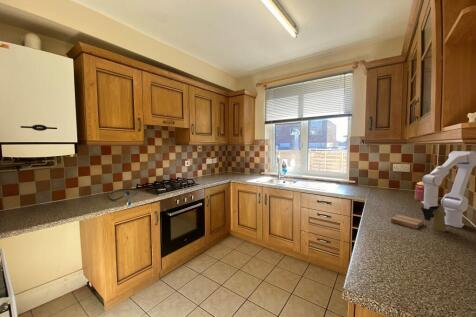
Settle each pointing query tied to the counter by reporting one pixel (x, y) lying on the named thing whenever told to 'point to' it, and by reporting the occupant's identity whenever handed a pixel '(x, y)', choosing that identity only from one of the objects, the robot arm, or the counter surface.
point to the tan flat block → (407, 221)
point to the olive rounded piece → (439, 221)
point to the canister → (419, 192)
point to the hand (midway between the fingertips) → (429, 218)
